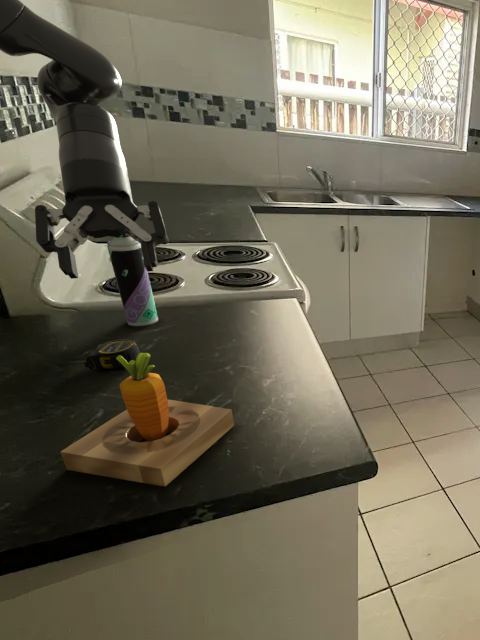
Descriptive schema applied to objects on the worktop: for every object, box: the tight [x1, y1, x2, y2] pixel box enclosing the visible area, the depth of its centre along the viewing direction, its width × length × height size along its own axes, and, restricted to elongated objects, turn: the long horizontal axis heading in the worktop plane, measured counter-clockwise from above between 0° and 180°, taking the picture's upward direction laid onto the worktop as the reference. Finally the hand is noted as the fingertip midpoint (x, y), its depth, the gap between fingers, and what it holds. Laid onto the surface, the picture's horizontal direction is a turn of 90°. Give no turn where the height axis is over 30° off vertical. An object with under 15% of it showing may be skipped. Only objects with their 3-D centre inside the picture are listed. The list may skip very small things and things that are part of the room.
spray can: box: [106, 233, 159, 327], centre depth 99 cm, size 6×6×20 cm
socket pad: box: [60, 398, 235, 487], centre depth 68 cm, size 14×14×3 cm
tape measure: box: [83, 339, 140, 371], centre depth 86 cm, size 7×7×4 cm
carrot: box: [116, 352, 169, 442], centre depth 65 cm, size 5×5×15 cm
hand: (112, 272), depth 66 cm, fingers open, 8 cm apart
